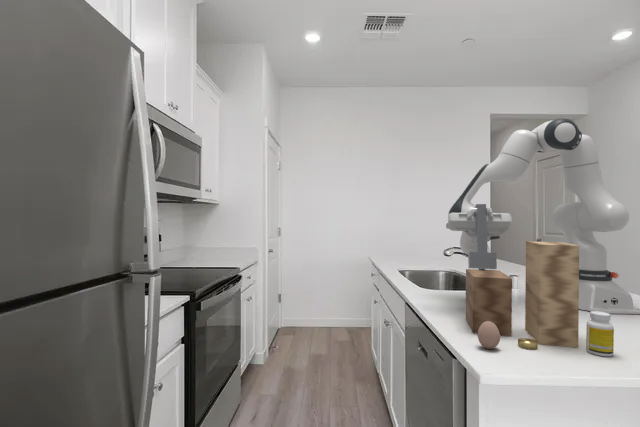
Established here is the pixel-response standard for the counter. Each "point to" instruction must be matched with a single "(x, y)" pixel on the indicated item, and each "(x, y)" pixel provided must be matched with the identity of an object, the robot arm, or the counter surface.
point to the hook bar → (481, 243)
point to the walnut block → (489, 300)
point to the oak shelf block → (552, 293)
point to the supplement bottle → (600, 334)
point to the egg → (488, 335)
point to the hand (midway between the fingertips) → (482, 209)
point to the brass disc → (527, 343)
